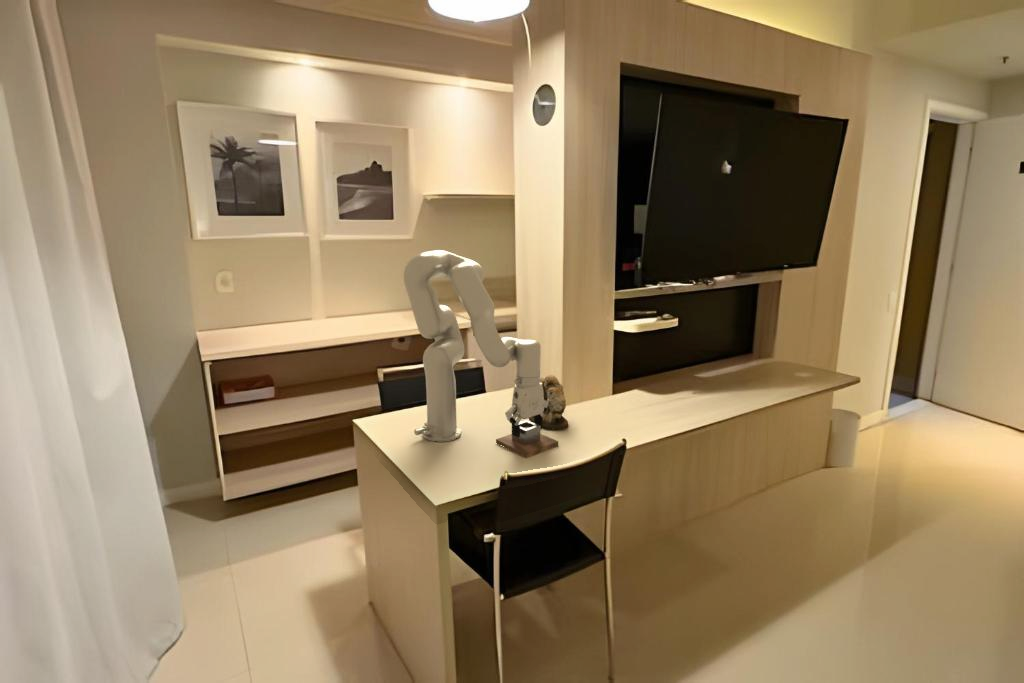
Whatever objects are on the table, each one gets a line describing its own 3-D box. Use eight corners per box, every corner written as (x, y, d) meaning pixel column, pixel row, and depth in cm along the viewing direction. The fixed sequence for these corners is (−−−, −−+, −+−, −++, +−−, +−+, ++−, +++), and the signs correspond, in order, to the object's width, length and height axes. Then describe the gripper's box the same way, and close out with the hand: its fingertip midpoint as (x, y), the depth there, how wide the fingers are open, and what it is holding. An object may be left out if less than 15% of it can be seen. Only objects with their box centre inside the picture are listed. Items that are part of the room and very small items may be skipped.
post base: (525, 458, 166) (525, 440, 165) (495, 443, 176) (495, 427, 175) (558, 445, 175) (558, 429, 174) (528, 432, 185) (528, 417, 184)
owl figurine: (519, 417, 199) (519, 372, 196) (545, 411, 206) (546, 367, 202) (549, 433, 185) (550, 384, 181) (576, 426, 191) (578, 379, 188)
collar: (525, 445, 171) (525, 430, 170) (511, 439, 176) (511, 424, 175) (540, 440, 175) (540, 425, 174) (526, 434, 180) (526, 420, 179)
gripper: (514, 388, 163) (514, 442, 167) (556, 377, 174) (554, 428, 178) (498, 382, 168) (498, 435, 172) (539, 372, 179) (538, 422, 183)
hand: (527, 431), depth 175 cm, fingers open, 9 cm apart
